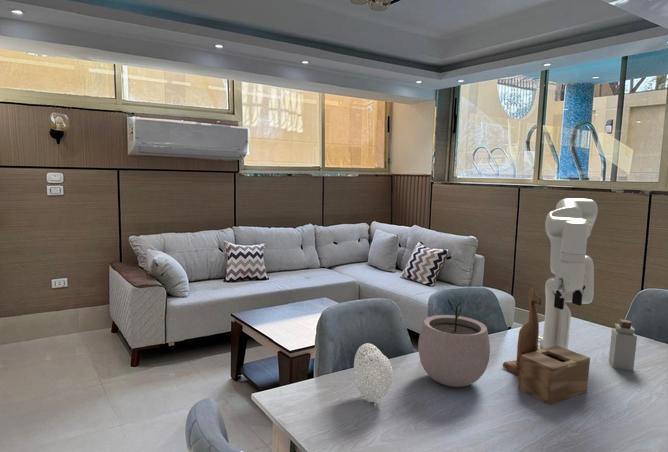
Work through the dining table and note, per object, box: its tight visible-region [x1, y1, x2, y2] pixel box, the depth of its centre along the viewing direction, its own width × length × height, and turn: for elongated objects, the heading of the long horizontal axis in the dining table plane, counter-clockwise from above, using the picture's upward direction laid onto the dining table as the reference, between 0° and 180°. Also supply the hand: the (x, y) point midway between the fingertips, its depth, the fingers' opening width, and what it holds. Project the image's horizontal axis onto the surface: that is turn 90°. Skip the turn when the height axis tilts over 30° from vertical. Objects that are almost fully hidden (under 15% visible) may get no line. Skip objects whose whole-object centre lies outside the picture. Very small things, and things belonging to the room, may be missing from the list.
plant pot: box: [417, 299, 491, 388], centre depth 155 cm, size 24×24×30 cm
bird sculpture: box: [502, 287, 542, 377], centre depth 164 cm, size 11×12×32 cm
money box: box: [517, 346, 591, 406], centre depth 152 cm, size 12×20×12 cm, turn 120°
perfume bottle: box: [608, 318, 638, 371], centre depth 174 cm, size 7×7×18 cm
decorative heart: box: [353, 342, 394, 410], centre depth 140 cm, size 18×11×17 cm, turn 16°
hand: (567, 306), depth 154 cm, fingers open, 9 cm apart
